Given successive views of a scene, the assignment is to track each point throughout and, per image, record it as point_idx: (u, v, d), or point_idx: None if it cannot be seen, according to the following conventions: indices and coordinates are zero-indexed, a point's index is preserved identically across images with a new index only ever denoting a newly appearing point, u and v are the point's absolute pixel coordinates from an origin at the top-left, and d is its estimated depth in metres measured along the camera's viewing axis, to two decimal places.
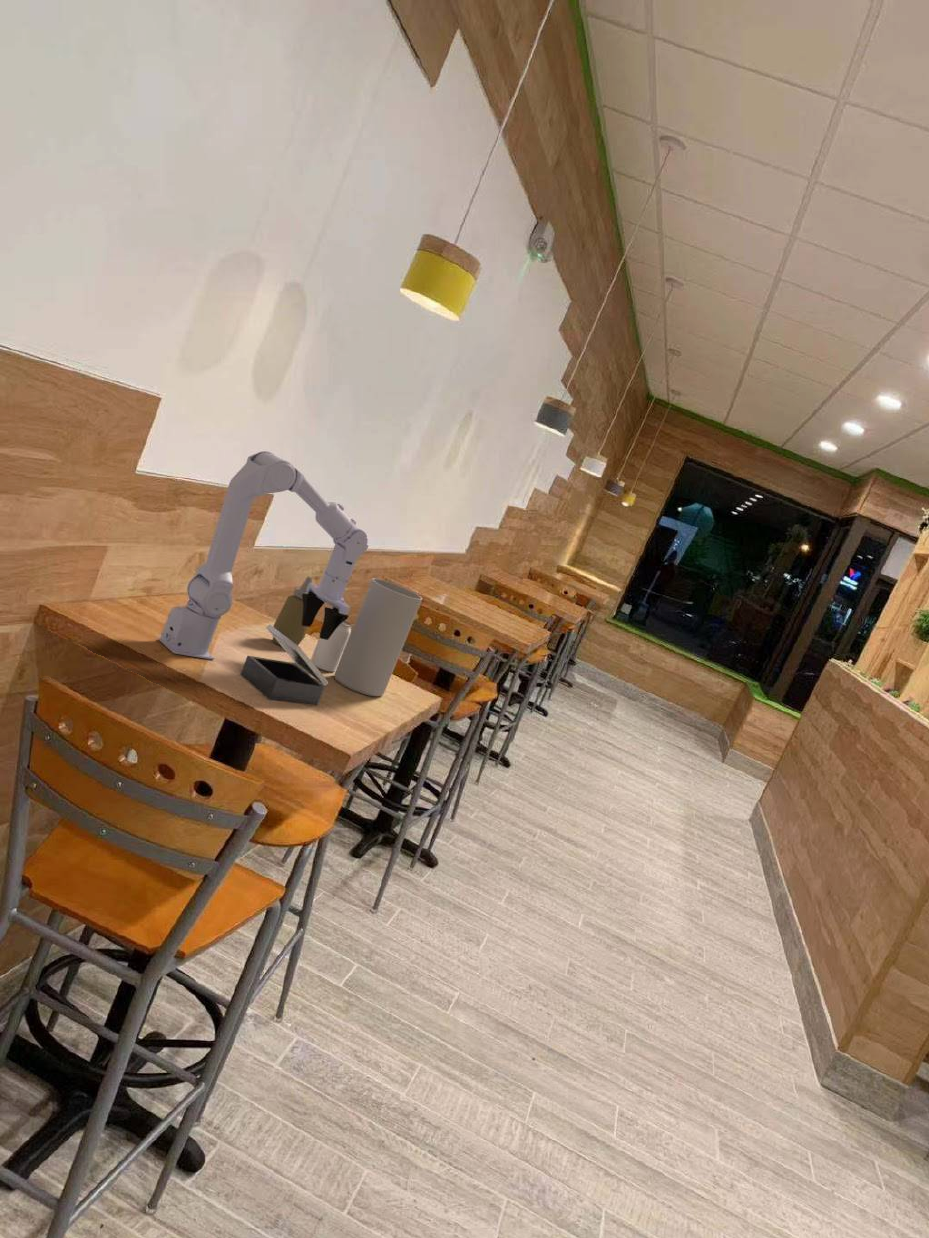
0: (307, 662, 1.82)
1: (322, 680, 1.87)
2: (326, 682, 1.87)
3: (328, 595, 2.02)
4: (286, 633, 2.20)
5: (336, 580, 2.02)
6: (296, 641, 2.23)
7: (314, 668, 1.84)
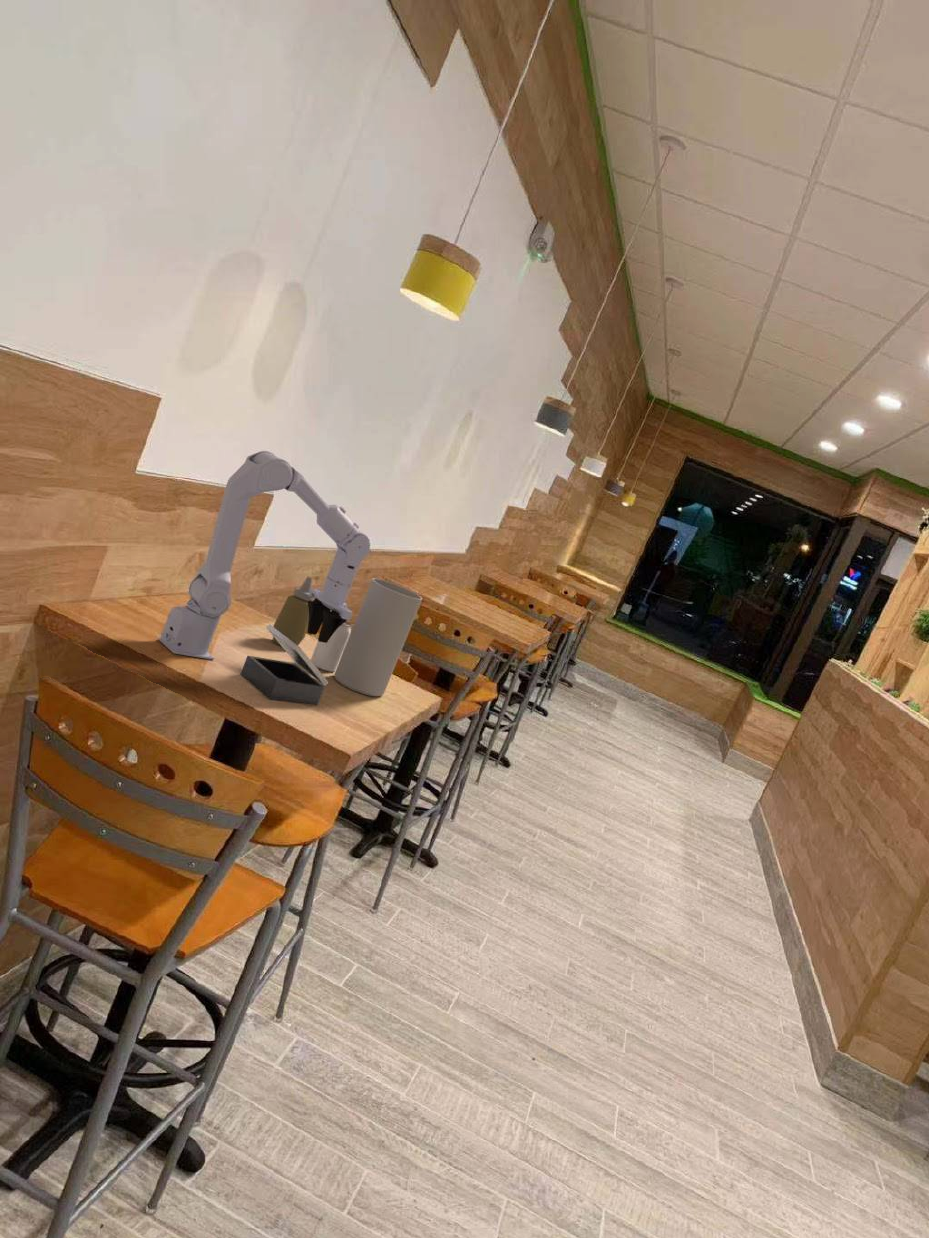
0: (307, 662, 1.82)
1: (322, 680, 1.87)
2: (326, 682, 1.87)
3: (330, 600, 1.99)
4: (286, 633, 2.20)
5: (338, 585, 1.99)
6: (296, 641, 2.23)
7: (314, 668, 1.84)
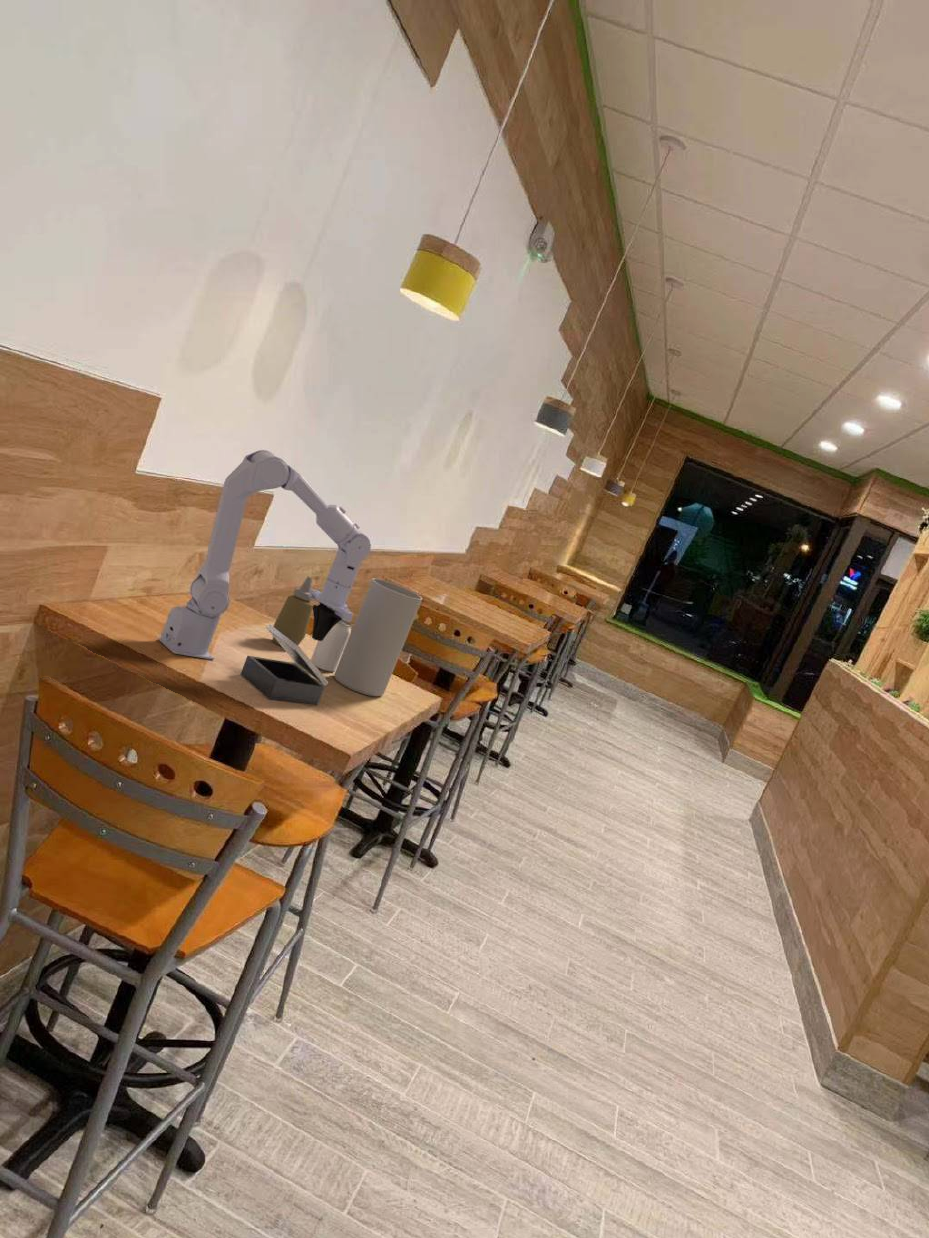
0: (307, 662, 1.82)
1: (322, 680, 1.87)
2: (326, 682, 1.87)
3: (331, 601, 1.97)
4: (286, 633, 2.20)
5: (339, 586, 1.97)
6: (296, 641, 2.23)
7: (314, 668, 1.84)
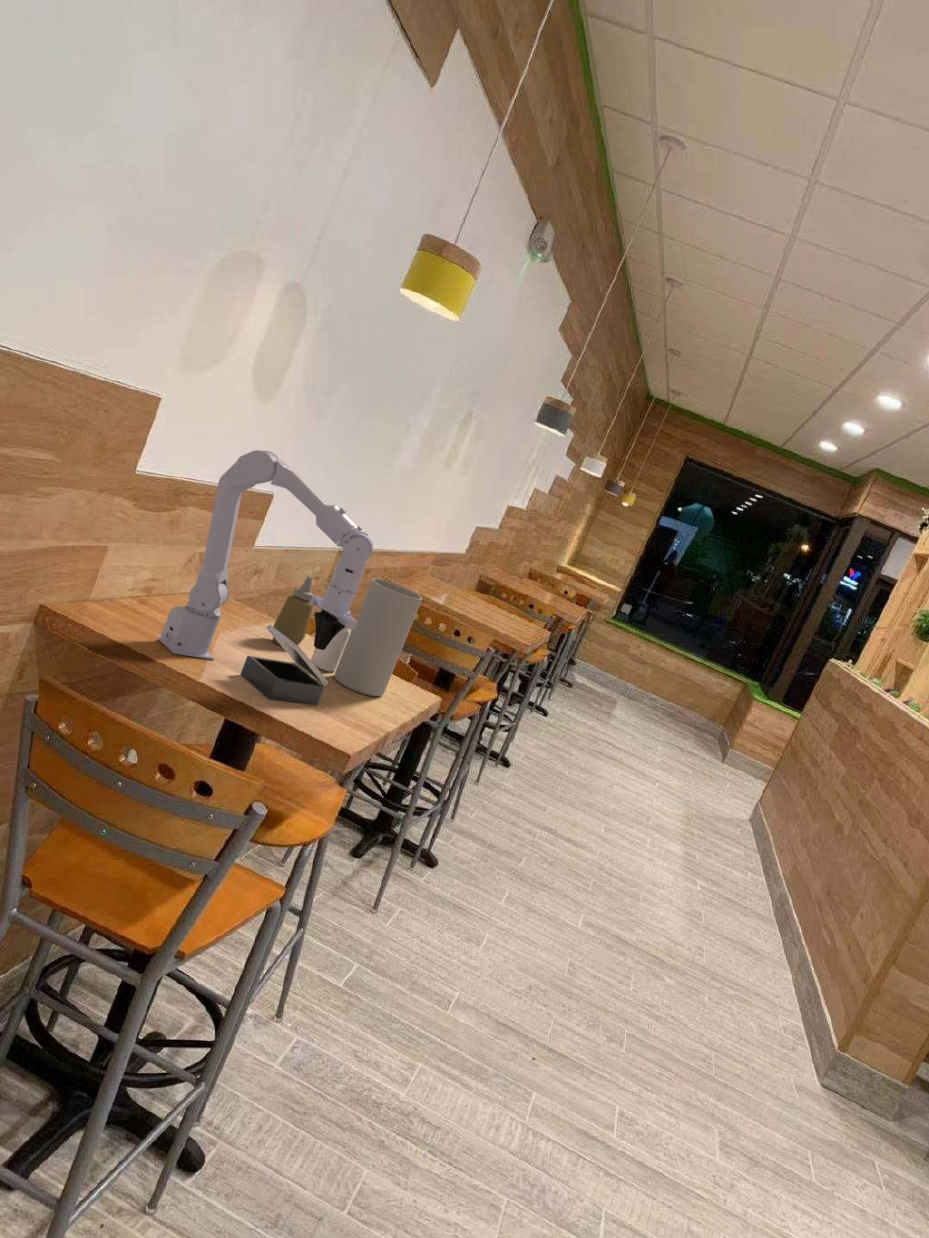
0: (307, 662, 1.82)
1: (322, 680, 1.87)
2: (326, 682, 1.87)
3: (334, 608, 1.87)
4: (286, 633, 2.20)
5: (342, 592, 1.86)
6: (296, 641, 2.23)
7: (314, 668, 1.84)
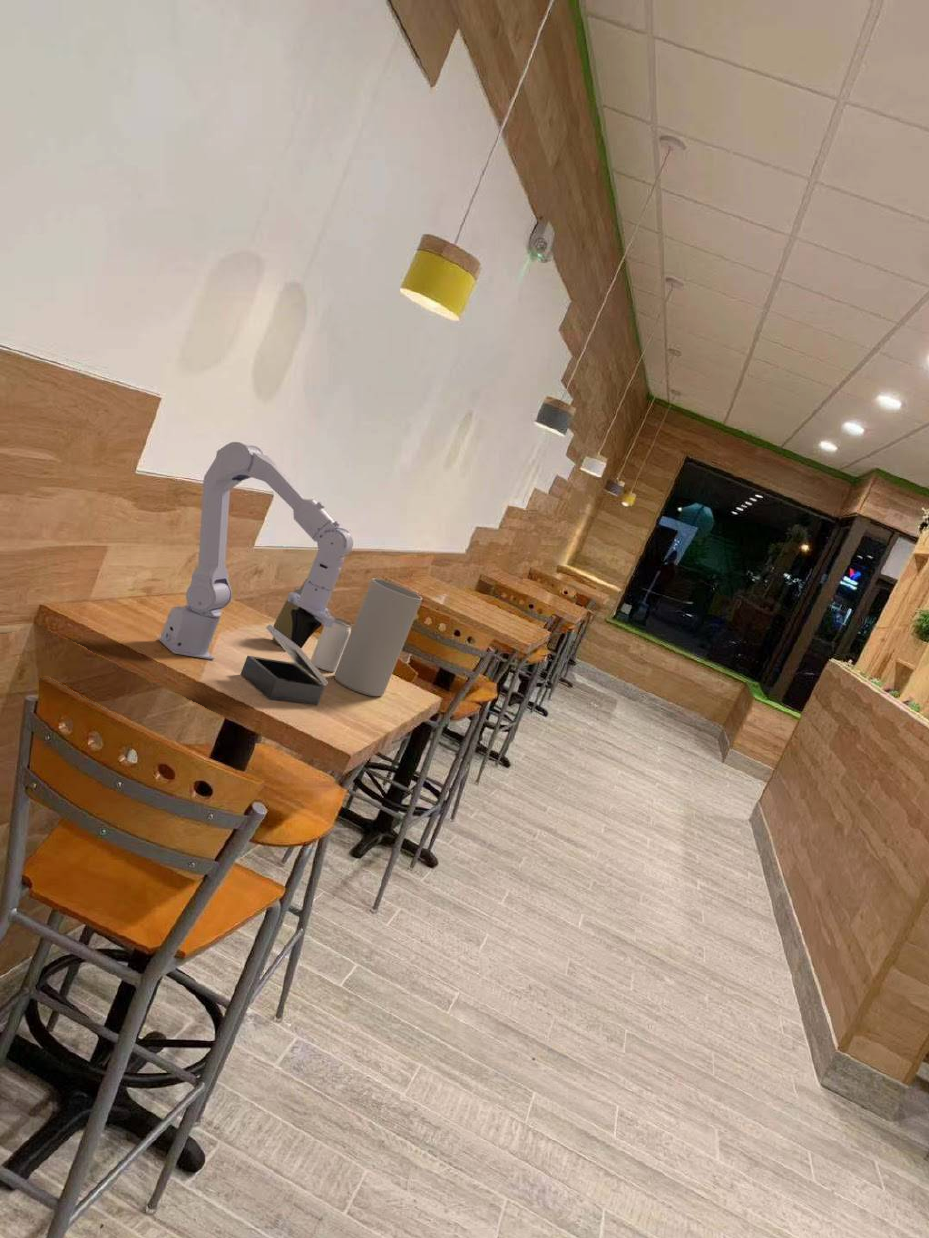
0: (307, 662, 1.82)
1: (322, 680, 1.87)
2: (326, 682, 1.87)
3: (310, 605, 1.82)
4: (286, 633, 2.20)
5: (319, 589, 1.82)
6: None
7: (314, 668, 1.84)
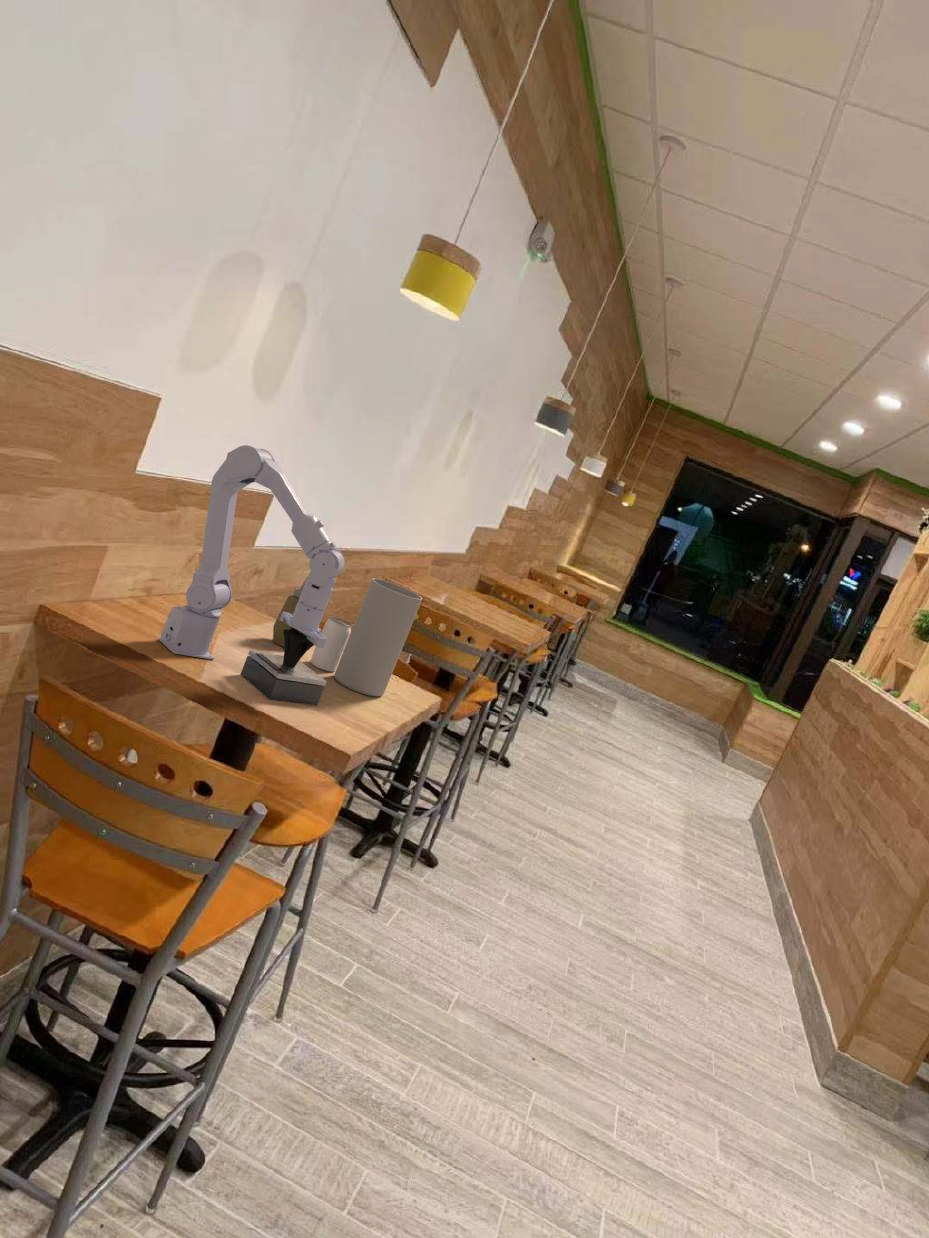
0: (295, 679, 1.82)
1: (319, 683, 1.86)
2: (324, 683, 1.87)
3: (302, 626, 1.83)
4: None
5: (311, 609, 1.83)
6: None
7: (305, 679, 1.84)
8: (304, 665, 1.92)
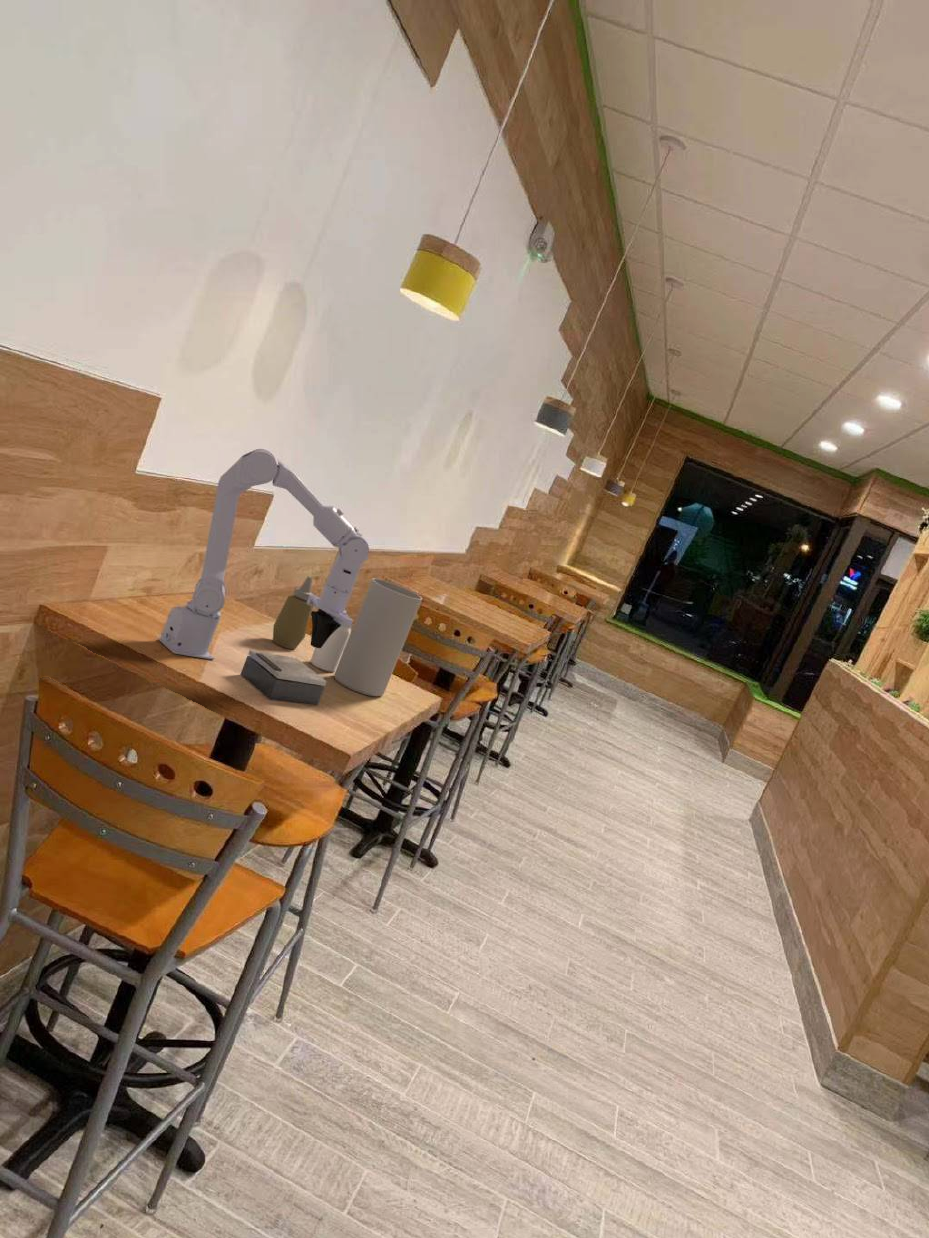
0: (295, 679, 1.82)
1: (319, 683, 1.86)
2: (324, 683, 1.87)
3: (330, 607, 1.91)
4: (286, 633, 2.20)
5: (338, 592, 1.91)
6: (296, 641, 2.23)
7: (305, 679, 1.84)
8: (304, 665, 1.92)
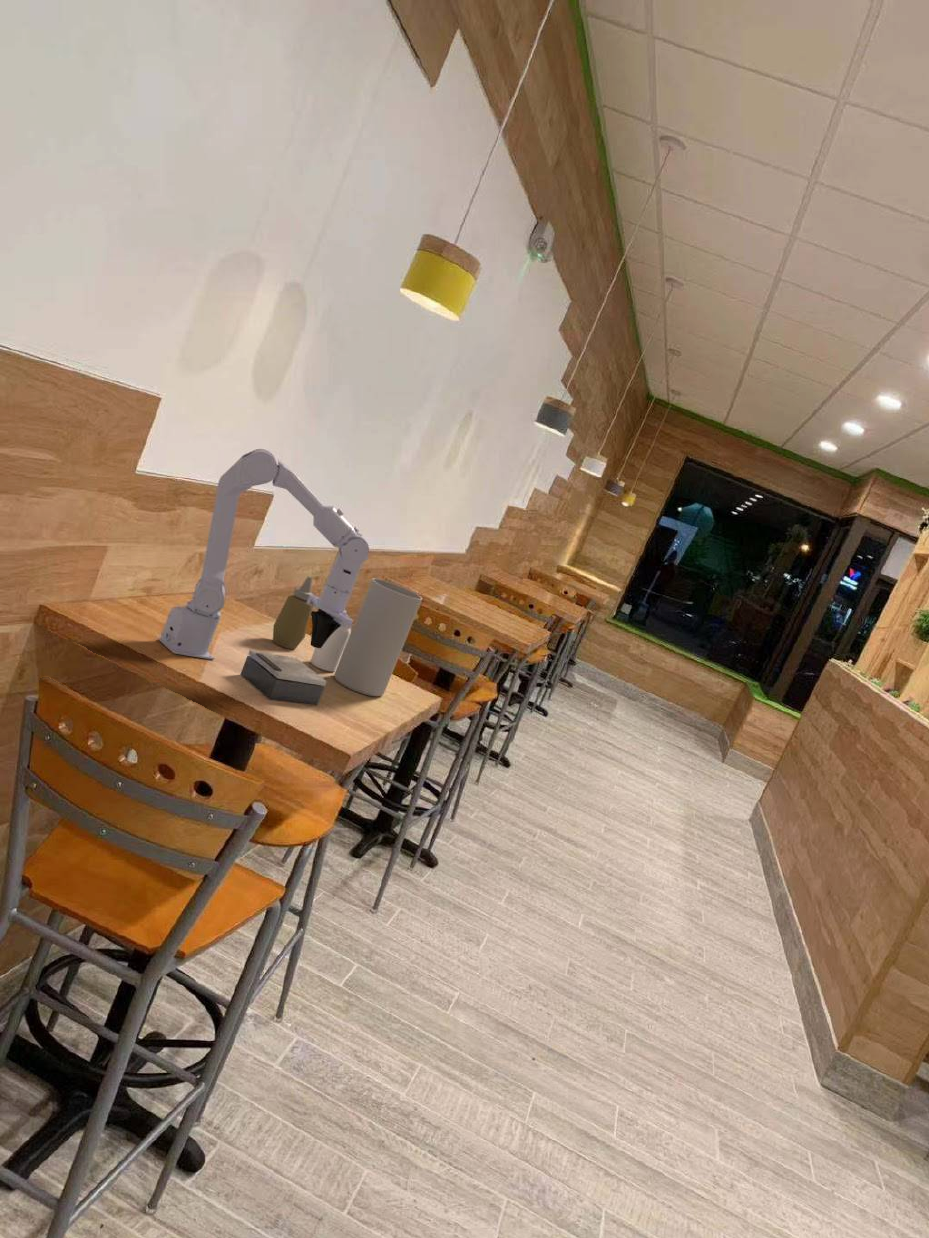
0: (295, 679, 1.82)
1: (319, 683, 1.86)
2: (324, 683, 1.87)
3: (330, 608, 1.91)
4: (286, 633, 2.20)
5: (338, 592, 1.91)
6: (296, 641, 2.23)
7: (305, 679, 1.84)
8: (304, 665, 1.92)
